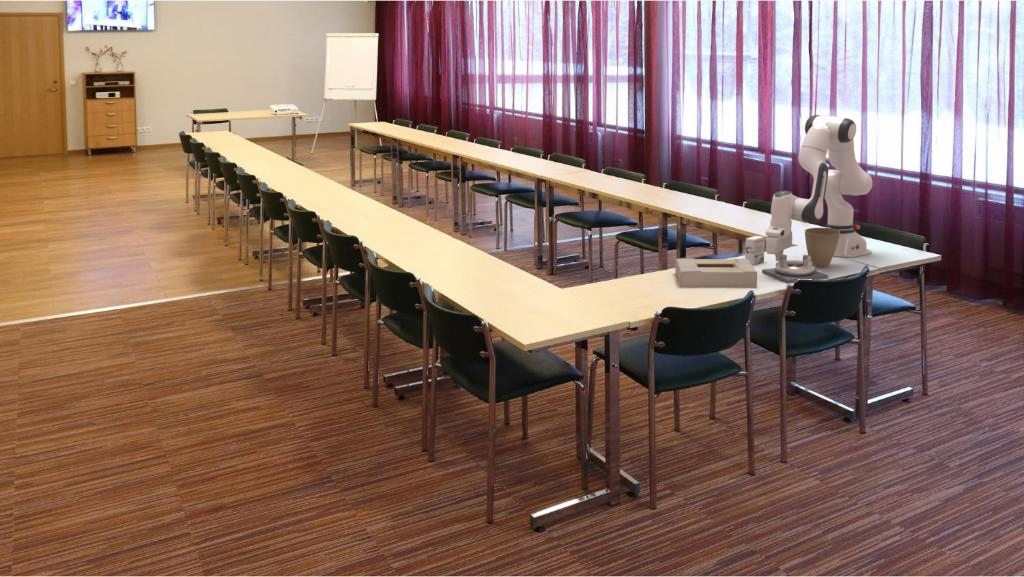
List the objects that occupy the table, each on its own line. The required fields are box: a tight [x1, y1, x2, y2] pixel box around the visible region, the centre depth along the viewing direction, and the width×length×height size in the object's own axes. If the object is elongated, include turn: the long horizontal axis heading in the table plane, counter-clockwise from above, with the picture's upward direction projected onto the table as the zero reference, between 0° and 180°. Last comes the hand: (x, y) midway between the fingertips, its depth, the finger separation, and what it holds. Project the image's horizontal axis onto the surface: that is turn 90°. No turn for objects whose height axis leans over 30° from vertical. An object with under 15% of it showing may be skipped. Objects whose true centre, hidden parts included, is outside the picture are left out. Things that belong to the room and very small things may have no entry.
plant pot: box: [804, 227, 840, 269], centre depth 423 cm, size 15×15×16 cm
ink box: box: [744, 235, 766, 266], centre depth 432 cm, size 8×5×12 cm, turn 131°
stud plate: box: [761, 267, 829, 284], centre depth 410 cm, size 20×19×2 cm
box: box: [674, 257, 758, 288], centre depth 405 cm, size 23×8×32 cm
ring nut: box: [775, 253, 816, 276], centre depth 409 cm, size 16×16×6 cm
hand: (778, 260), depth 412 cm, fingers closed
